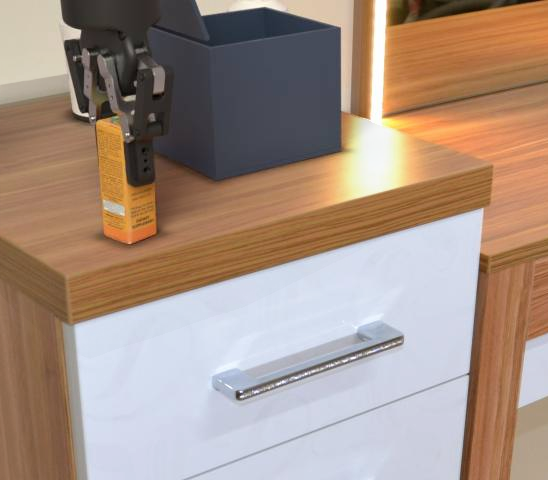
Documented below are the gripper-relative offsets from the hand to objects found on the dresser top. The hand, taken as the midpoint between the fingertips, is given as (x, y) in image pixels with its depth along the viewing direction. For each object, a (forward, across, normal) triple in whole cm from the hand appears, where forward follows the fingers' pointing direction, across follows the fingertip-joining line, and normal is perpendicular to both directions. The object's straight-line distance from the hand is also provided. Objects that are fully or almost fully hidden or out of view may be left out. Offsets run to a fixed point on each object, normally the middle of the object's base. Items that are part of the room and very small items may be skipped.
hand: (127, 175), depth 94 cm
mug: (+5, -34, +17) cm, 39 cm away
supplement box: (+5, 0, 0) cm, 5 cm away
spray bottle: (+5, -26, +31) cm, 41 cm away
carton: (+5, -14, +20) cm, 25 cm away
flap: (-12, -14, +12) cm, 22 cm away
